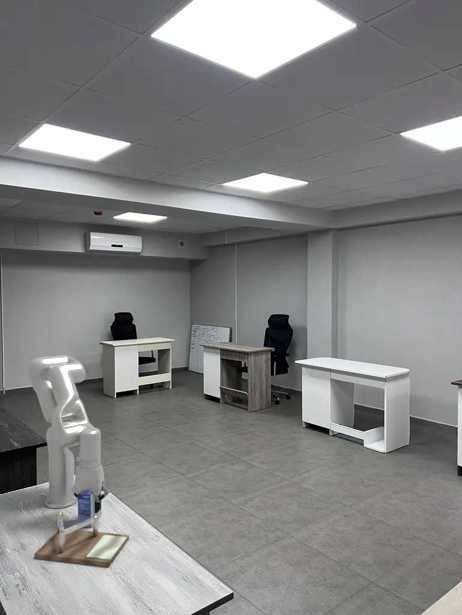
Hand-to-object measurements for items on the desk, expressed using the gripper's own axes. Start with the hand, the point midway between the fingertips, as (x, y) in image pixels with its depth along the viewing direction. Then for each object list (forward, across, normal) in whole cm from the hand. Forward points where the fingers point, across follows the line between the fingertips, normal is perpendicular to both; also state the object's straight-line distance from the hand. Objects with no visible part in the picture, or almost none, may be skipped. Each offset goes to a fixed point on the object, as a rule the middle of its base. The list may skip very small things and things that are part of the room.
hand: (89, 510), depth 170 cm
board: (+4, +6, -18) cm, 19 cm away
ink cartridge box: (+4, 0, 0) cm, 4 cm away
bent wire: (+2, +2, -17) cm, 18 cm away
